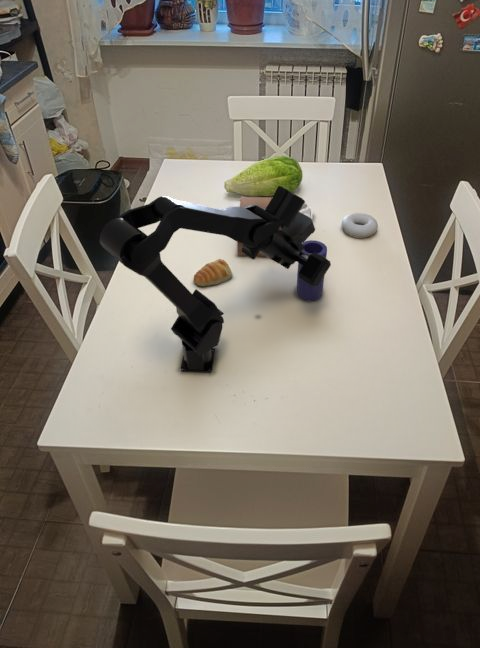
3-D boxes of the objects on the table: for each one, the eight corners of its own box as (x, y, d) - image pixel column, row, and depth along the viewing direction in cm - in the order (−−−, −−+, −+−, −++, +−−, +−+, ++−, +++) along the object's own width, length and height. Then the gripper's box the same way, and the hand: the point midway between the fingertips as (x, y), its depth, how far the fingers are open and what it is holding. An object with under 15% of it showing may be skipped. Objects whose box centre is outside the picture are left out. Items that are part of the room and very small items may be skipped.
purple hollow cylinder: (322, 301, 120) (327, 256, 111) (296, 300, 120) (299, 255, 112) (321, 285, 125) (326, 240, 116) (296, 284, 125) (299, 239, 116)
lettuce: (217, 170, 158) (222, 162, 146) (290, 155, 163) (302, 146, 151) (225, 208, 160) (232, 203, 148) (298, 193, 165) (310, 187, 152)
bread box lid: (296, 230, 126) (297, 215, 123) (236, 228, 127) (236, 213, 124) (296, 200, 137) (296, 186, 134) (241, 199, 138) (240, 184, 135)
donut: (348, 218, 148) (335, 234, 141) (349, 207, 146) (337, 223, 139) (381, 226, 145) (370, 243, 138) (383, 216, 142) (372, 232, 136)
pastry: (203, 292, 122) (201, 280, 120) (188, 279, 126) (186, 267, 124) (234, 278, 127) (234, 265, 124) (219, 265, 130) (218, 253, 128)
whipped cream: (313, 229, 145) (316, 214, 141) (290, 227, 145) (292, 212, 141) (311, 212, 150) (314, 198, 147) (289, 210, 150) (291, 196, 147)
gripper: (328, 227, 97) (358, 252, 110) (262, 191, 107) (297, 218, 120) (297, 277, 98) (330, 296, 111) (235, 237, 108) (272, 259, 121)
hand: (307, 265), depth 116 cm, fingers open, 9 cm apart
